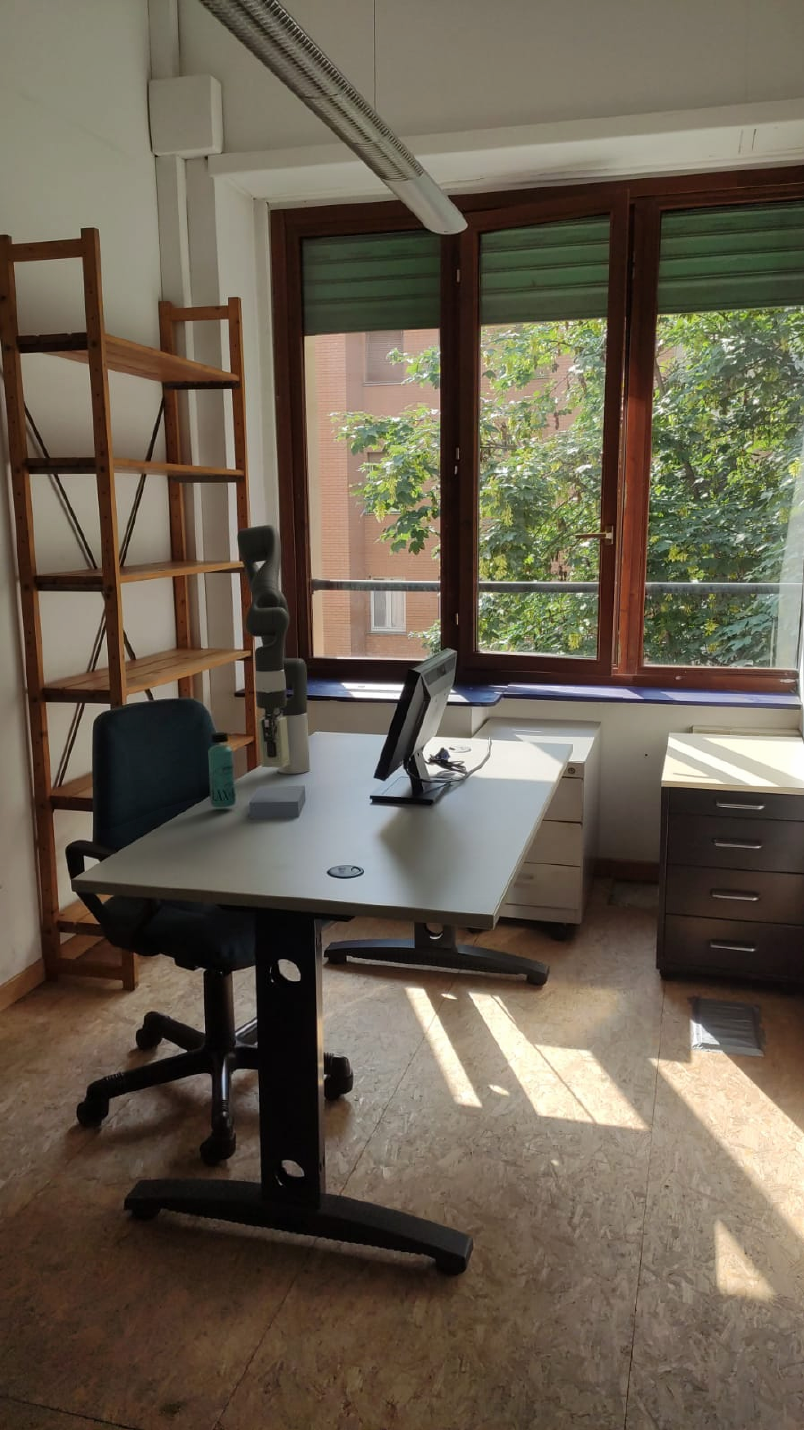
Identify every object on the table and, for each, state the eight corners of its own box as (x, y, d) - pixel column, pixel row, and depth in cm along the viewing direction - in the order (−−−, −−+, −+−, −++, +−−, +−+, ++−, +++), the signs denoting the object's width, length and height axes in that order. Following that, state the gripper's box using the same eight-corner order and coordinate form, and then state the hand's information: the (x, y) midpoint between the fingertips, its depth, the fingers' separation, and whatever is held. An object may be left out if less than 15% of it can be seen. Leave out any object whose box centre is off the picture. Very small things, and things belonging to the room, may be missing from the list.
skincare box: (290, 764, 267) (287, 717, 265) (282, 768, 263) (280, 720, 261) (267, 763, 269) (265, 716, 267) (259, 767, 265) (257, 719, 263)
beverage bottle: (205, 811, 268) (200, 734, 264) (221, 805, 274) (216, 729, 270) (226, 814, 265) (221, 736, 261) (242, 807, 271) (237, 731, 267)
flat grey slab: (260, 803, 276) (259, 786, 275) (305, 802, 276) (304, 785, 275) (250, 820, 260) (249, 802, 260) (298, 819, 260) (297, 801, 259)
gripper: (262, 684, 270) (265, 749, 273) (249, 692, 256) (253, 761, 259) (291, 683, 269) (294, 748, 272) (279, 692, 255) (283, 761, 258)
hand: (274, 754), depth 265 cm, fingers closed on skincare box, 5 cm apart
